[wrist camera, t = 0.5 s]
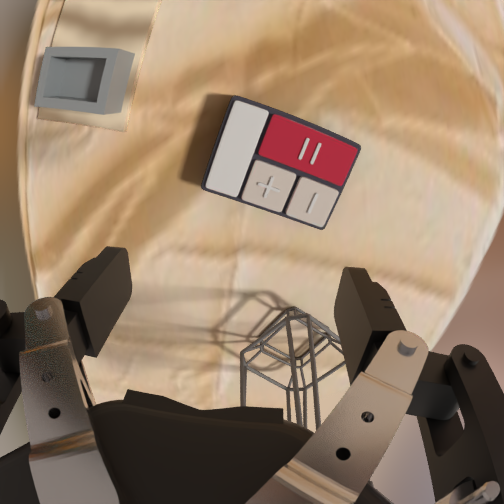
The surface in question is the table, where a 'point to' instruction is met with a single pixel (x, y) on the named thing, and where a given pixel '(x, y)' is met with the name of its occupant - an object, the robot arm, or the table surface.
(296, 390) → the geometric lantern
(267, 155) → the calculator
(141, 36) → the beige mat
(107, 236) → the table surface
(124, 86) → the end holder
